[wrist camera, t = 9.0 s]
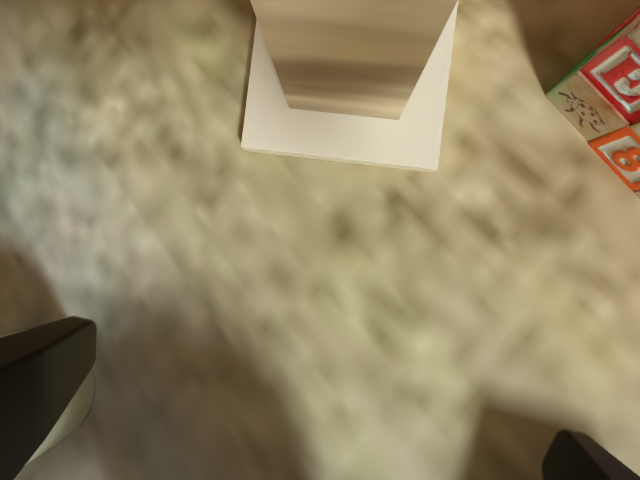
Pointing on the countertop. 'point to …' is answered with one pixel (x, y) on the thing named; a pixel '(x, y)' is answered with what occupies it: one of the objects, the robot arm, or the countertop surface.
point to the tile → (350, 118)
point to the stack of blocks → (608, 100)
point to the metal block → (351, 51)
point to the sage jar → (69, 414)
